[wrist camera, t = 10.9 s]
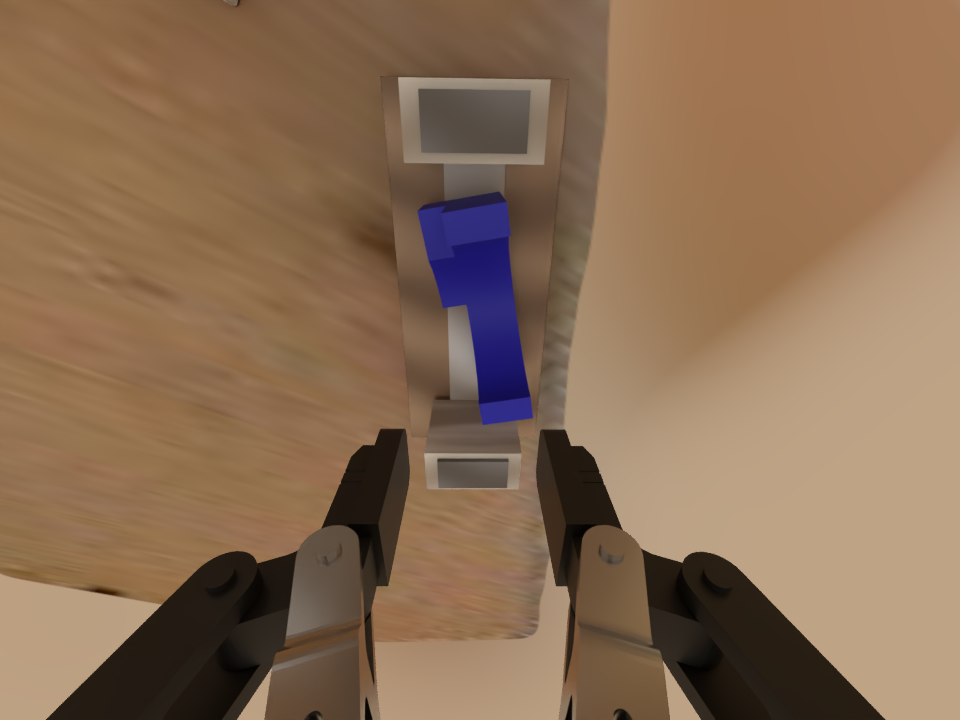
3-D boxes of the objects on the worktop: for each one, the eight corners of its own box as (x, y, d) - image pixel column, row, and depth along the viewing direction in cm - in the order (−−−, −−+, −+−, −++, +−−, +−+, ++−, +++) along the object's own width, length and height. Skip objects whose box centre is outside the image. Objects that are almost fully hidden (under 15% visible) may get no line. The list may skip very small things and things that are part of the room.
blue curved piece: (424, 204, 23) (408, 219, 18) (499, 191, 23) (506, 201, 17) (461, 378, 29) (457, 428, 23) (522, 368, 28) (533, 418, 23)
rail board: (386, 81, 22) (340, 41, 15) (562, 83, 22) (607, 46, 15) (414, 425, 33) (396, 503, 26) (531, 425, 33) (548, 503, 26)
